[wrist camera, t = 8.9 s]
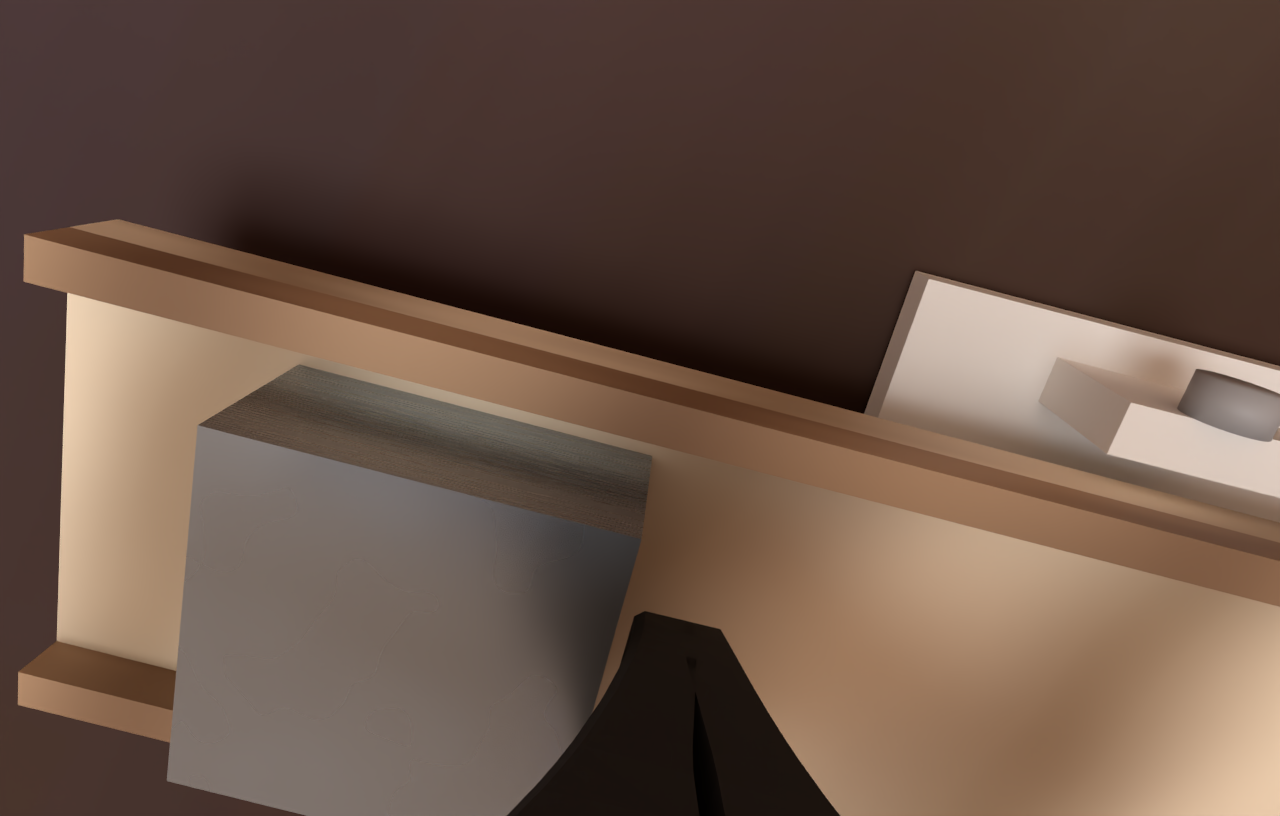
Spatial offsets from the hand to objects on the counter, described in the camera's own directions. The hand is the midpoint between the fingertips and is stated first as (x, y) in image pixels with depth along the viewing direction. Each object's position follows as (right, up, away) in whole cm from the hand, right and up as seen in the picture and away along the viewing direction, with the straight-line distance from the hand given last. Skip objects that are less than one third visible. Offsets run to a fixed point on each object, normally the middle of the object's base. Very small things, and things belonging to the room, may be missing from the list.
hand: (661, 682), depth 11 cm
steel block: (-3, +1, +1) cm, 4 cm away
